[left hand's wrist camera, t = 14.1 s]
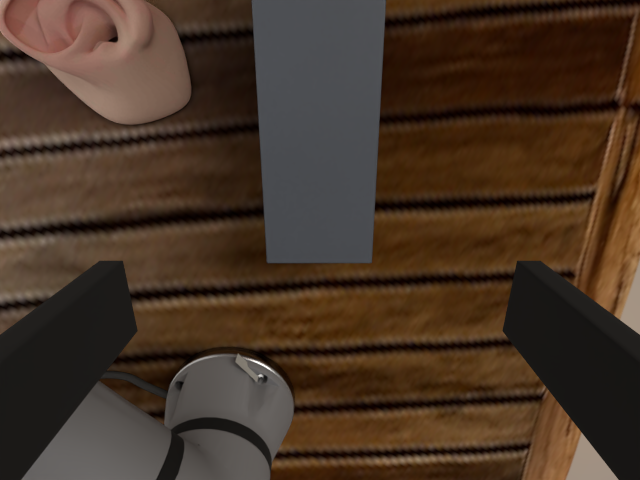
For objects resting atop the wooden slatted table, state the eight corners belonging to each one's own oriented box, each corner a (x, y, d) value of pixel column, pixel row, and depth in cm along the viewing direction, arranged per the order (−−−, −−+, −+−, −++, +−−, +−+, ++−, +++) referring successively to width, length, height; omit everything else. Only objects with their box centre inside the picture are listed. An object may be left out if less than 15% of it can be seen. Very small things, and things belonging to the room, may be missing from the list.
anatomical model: (201, 82, 29) (97, 161, 32) (215, 83, 33) (121, 154, 35) (77, -94, 25) (-32, 11, 28) (108, -70, 29) (10, 21, 31)
